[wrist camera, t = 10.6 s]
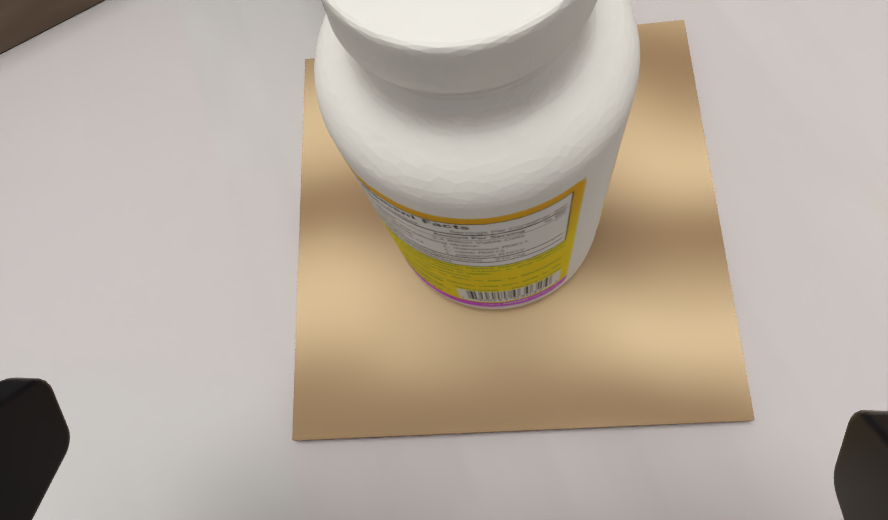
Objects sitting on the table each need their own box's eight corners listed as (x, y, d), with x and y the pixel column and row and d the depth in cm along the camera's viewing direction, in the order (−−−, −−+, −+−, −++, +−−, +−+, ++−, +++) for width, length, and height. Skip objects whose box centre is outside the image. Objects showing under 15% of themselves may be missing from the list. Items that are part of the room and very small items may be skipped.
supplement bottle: (478, 98, 24) (427, -297, 11) (636, 198, 22) (775, -145, 10) (358, 239, 22) (159, -31, 10) (512, 357, 21) (493, 198, 8)
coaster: (750, 421, 20) (754, 420, 19) (296, 440, 21) (292, 440, 21) (681, 27, 24) (683, 19, 24) (308, 65, 25) (305, 59, 25)
